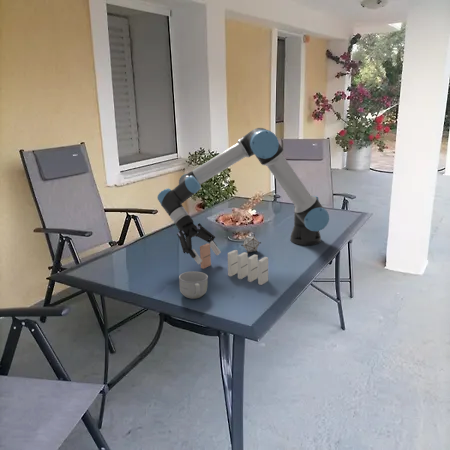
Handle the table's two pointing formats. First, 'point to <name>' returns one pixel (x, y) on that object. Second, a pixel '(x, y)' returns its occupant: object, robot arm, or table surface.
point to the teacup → (193, 284)
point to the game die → (251, 244)
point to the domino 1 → (205, 255)
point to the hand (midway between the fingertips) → (209, 258)
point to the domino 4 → (252, 267)
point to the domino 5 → (262, 270)
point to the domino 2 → (232, 263)
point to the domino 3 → (242, 265)
